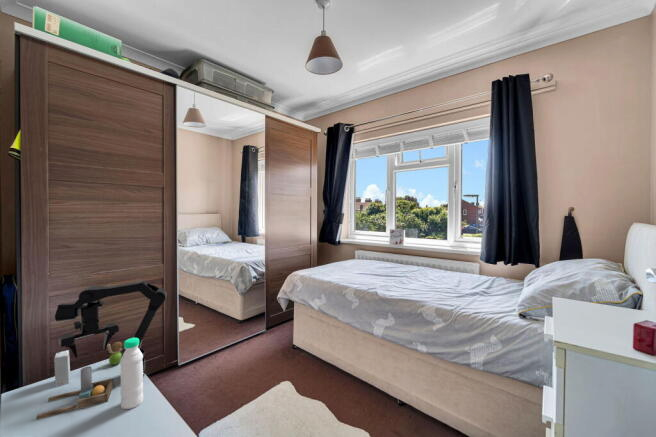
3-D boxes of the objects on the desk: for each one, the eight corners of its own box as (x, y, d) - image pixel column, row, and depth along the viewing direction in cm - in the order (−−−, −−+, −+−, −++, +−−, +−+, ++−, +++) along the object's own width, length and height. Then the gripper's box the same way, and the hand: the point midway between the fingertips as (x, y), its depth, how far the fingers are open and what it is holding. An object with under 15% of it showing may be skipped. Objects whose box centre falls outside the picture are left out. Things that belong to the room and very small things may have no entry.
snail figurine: (104, 366, 130) (103, 341, 130) (119, 359, 136) (119, 335, 135) (110, 369, 127) (109, 343, 127) (125, 362, 133) (125, 338, 133)
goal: (113, 385, 117) (113, 378, 116) (107, 401, 107) (107, 393, 107) (49, 400, 107) (49, 392, 107) (36, 419, 97) (36, 411, 97)
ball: (101, 381, 112) (90, 388, 110) (99, 386, 108) (87, 394, 107) (107, 388, 113) (96, 395, 111) (105, 394, 109) (94, 401, 108)
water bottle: (131, 411, 102) (131, 345, 101) (116, 408, 103) (115, 343, 102) (147, 398, 109) (147, 336, 108) (132, 395, 110) (132, 334, 109)
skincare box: (69, 383, 117) (68, 355, 117) (54, 387, 114) (53, 358, 114) (70, 376, 122) (70, 349, 122) (56, 379, 119) (55, 352, 119)
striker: (93, 391, 111) (93, 363, 111) (89, 401, 106) (89, 371, 106) (83, 394, 110) (82, 366, 109) (78, 403, 105) (78, 374, 104)
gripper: (112, 306, 128) (112, 339, 129) (56, 318, 114) (57, 355, 115) (119, 312, 121) (119, 347, 122) (60, 326, 107) (61, 365, 108)
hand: (90, 353), depth 117 cm, fingers open, 9 cm apart
